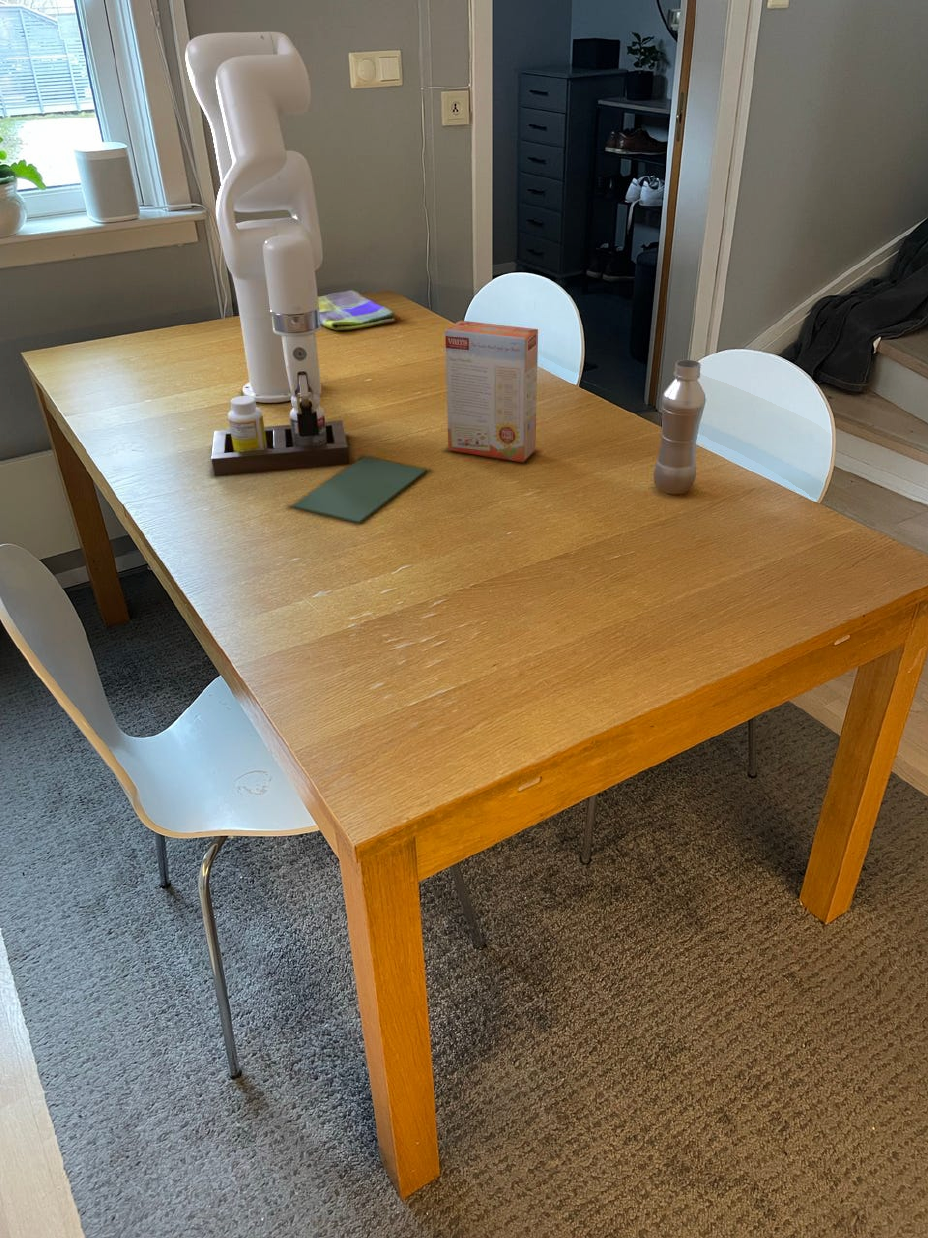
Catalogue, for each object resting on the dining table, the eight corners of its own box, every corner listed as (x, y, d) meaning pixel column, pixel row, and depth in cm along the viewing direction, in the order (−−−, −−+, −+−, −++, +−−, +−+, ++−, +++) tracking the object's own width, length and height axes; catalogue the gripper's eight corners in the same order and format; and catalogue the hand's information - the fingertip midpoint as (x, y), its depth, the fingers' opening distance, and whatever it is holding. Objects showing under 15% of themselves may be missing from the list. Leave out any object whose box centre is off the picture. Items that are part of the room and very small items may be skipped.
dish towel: (329, 334, 214) (327, 322, 212) (294, 308, 232) (293, 297, 230) (398, 322, 220) (397, 311, 219) (359, 299, 238) (358, 287, 237)
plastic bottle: (696, 483, 146) (713, 358, 135) (690, 501, 141) (708, 373, 130) (655, 477, 148) (669, 354, 137) (648, 496, 143) (661, 369, 132)
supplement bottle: (254, 448, 160) (245, 391, 155) (275, 456, 157) (267, 398, 152) (228, 458, 157) (218, 400, 151) (249, 467, 154) (240, 408, 148)
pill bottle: (321, 460, 156) (315, 403, 150) (289, 458, 157) (282, 401, 151) (332, 446, 160) (326, 391, 155) (301, 444, 161) (294, 389, 156)
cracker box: (536, 450, 158) (540, 327, 146) (523, 464, 153) (526, 338, 141) (461, 438, 163) (459, 317, 151) (447, 451, 158) (443, 327, 146)
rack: (217, 446, 161) (214, 430, 160) (343, 435, 164) (342, 419, 163) (214, 475, 151) (211, 458, 150) (349, 463, 154) (347, 447, 153)
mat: (364, 458, 156) (364, 456, 156) (426, 471, 151) (426, 469, 151) (293, 507, 142) (293, 505, 141) (359, 523, 137) (359, 521, 137)
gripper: (322, 334, 139) (334, 444, 149) (317, 303, 154) (327, 406, 163) (272, 338, 138) (286, 448, 148) (271, 306, 153) (284, 409, 162)
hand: (308, 425), depth 156 cm, fingers open, 7 cm apart
